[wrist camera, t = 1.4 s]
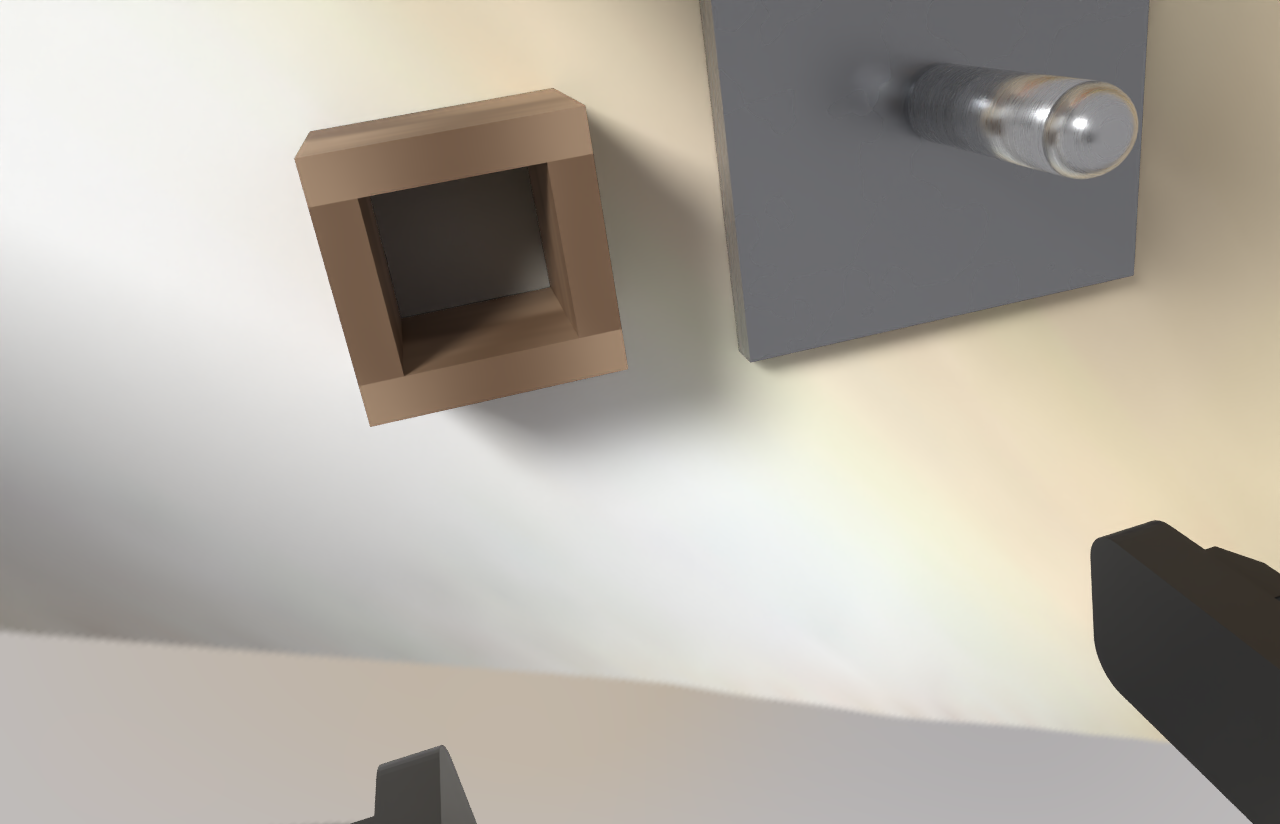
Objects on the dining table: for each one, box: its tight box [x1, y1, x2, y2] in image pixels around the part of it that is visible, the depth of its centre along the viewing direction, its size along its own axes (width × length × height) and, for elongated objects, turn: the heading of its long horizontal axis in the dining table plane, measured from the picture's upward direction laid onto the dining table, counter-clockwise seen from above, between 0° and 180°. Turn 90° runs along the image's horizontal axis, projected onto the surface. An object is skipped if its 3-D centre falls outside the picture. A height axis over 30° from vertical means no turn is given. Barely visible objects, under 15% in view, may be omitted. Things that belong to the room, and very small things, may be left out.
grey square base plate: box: [699, 0, 1149, 362], centre depth 24 cm, size 12×12×8 cm
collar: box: [294, 88, 628, 427], centre depth 24 cm, size 6×6×4 cm
